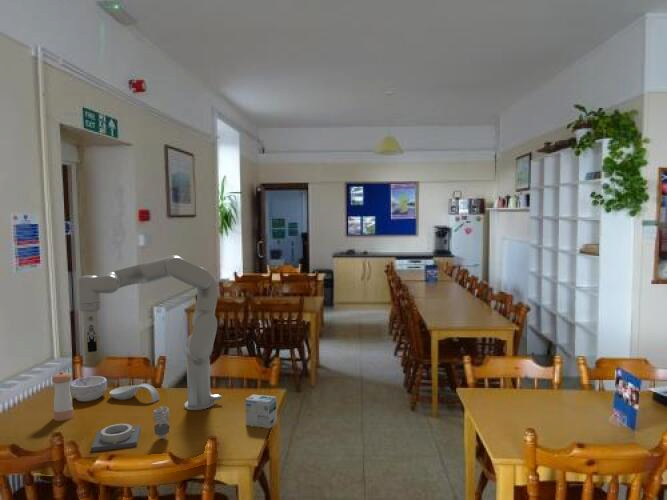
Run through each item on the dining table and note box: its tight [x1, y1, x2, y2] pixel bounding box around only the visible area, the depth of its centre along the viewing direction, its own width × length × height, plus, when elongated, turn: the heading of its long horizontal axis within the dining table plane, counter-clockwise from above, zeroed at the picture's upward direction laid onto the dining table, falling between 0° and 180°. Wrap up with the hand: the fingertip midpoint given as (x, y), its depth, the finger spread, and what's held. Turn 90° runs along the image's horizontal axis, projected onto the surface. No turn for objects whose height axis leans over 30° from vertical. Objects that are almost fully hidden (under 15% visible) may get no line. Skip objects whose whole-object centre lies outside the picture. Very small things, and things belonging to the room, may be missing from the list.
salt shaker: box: [51, 370, 74, 422], centre depth 213 cm, size 7×7×19 cm
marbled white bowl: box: [70, 375, 108, 402], centre depth 236 cm, size 15×15×8 cm
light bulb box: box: [244, 393, 278, 430], centre depth 204 cm, size 11×7×11 cm, turn 71°
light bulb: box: [153, 406, 170, 440], centre depth 191 cm, size 6×6×12 cm
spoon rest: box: [109, 383, 160, 403], centre depth 235 cm, size 24×12×7 cm, turn 73°
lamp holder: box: [90, 423, 141, 453], centre depth 191 cm, size 15×15×4 cm
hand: (92, 348), depth 208 cm, fingers open, 9 cm apart
